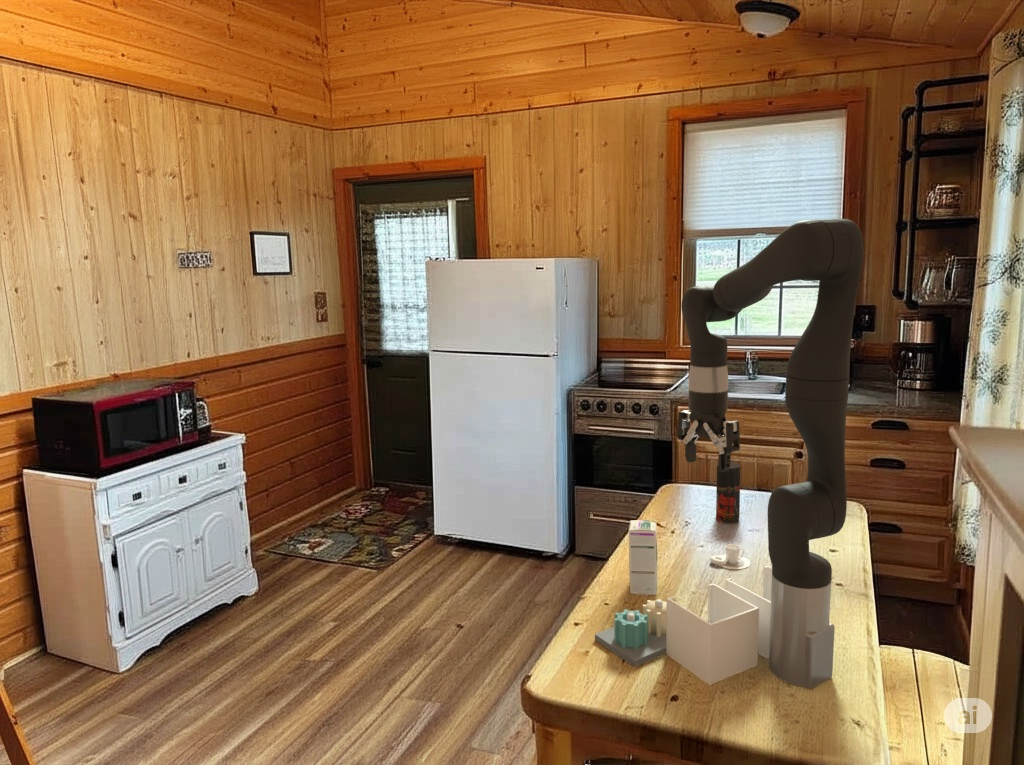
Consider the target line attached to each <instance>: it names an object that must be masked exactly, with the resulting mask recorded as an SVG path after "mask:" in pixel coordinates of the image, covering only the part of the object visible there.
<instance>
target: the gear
mask: <svg viewBox="0 0 1024 765" xmlns="http://www.w3.org/2000/svg"><path fill="white" fill-rule="evenodd" d="M640 612H641V610H637V609H636V610H628V609H627V608H626V609H623V611H622V612H615V614H614V618H613V619H614V621H613V623H614V624H613V627H614V641H615V643H620V644H621V645H622V647H623V648H626V647H634V649H639V646H641V645H645V646H646V645H647V615H643V613H640ZM628 613H633V614H634V615H635V622H630V621H627V614H628Z"/></svg>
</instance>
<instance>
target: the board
mask: <svg viewBox="0 0 1024 765" xmlns="http://www.w3.org/2000/svg"><path fill="white" fill-rule="evenodd" d="M642 615H647V645H646V646H645V645H641V646H639V649H634V647H626V648H623V647H622V645H621V644H620V643H615V641H614V626H612V627H610V628H607V629H604V630H602V631H599V632H598V633H595V634H594V640H595V641H596V642H597V643H599V644H600V645H601V646H603V647H604V648H606V649H607V650H609V651H611V653H613V654H615V655H616V656H618V657H619V658H621V659H622V660H624V661H625V662H627V663H628V664H629V665H631V666H633V667H634V668H636V667H639V666H641V665H643V664H646V663H648V662H650V661H652V660H654V659H657V658H659V657H662V656H663V655H667V654H666V620H667V601H664V600H662V598H661V599H660V598H657V599H655V600H650V599H648V600H646V604H642ZM627 621H630V622H635V615H634V614H633V613H628V614H627Z"/></svg>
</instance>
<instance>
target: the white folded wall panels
mask: <svg viewBox="0 0 1024 765" xmlns="http://www.w3.org/2000/svg"><path fill="white" fill-rule="evenodd" d="M762 579H763V580H762V581H763V584H762V596H761V595H759V594H757V593H755V592H753V591H752V590H749V589H748V588H746V587H744V586H742V585H739V584H738V583H736V582H734V581H732V578H731V577H729V578H726V579H725V584H724V585H725V588H723V587H721V586H719V585H717V584H715V583H710V584H708V598H707V599H708V607H707V608H708V609H707V610H708V611H707V620H705V619H704V618H702V617H701V616H699V615H697V614H696V613H694V612H692V611H691V610H689V609H688V608H685V607H684V606H683V605H681V604H680V603H677V602H676V601H675V600H674V597H673V596H670V597H667V598H666V602H667V620H666V654H665V655H666V656H668V657H669V658H671V659H673V660H674V661H675V662H677V663H678V664H679V665H681V666H683V667H684V668H685V669H687V671H689V672H691V673H693V675H695V676H697V678H700V679H701V681H703V682H705V683H706V684H707V685H709V686H711V685H713V684H716V683H718V682H721V681H723V680H725V679H728V678H730V677H732V676H735V675H737V674H740V673H743V672H745V671H748V670H749V669H752V668H755V667H757V666H758V660H759V659H758V656H759V655H760V656H761V657H763V658H765V659H766V660H768V661H769V646H770V645H769V644H770V615H771V588H772V566H769V565H766V566H763V578H762Z"/></svg>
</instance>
